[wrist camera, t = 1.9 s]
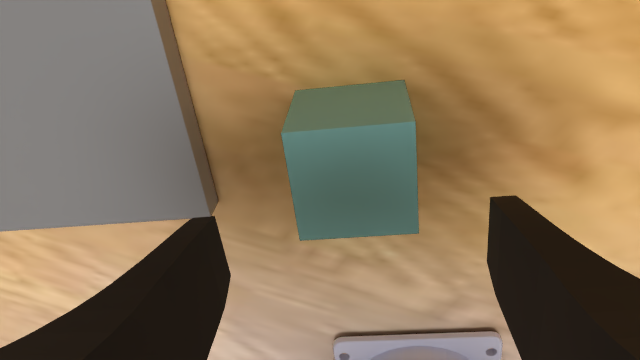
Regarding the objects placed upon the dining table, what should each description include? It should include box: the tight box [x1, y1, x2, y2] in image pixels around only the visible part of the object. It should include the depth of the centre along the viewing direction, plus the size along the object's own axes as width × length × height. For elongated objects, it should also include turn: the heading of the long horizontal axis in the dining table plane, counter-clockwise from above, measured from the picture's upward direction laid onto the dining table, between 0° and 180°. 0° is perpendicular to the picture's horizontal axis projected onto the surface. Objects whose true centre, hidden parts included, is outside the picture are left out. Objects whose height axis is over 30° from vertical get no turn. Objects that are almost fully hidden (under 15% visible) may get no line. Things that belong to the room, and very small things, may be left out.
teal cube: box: [281, 80, 419, 241], centre depth 17 cm, size 4×4×4 cm
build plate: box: [0, 0, 218, 231], centre depth 18 cm, size 12×12×1 cm
